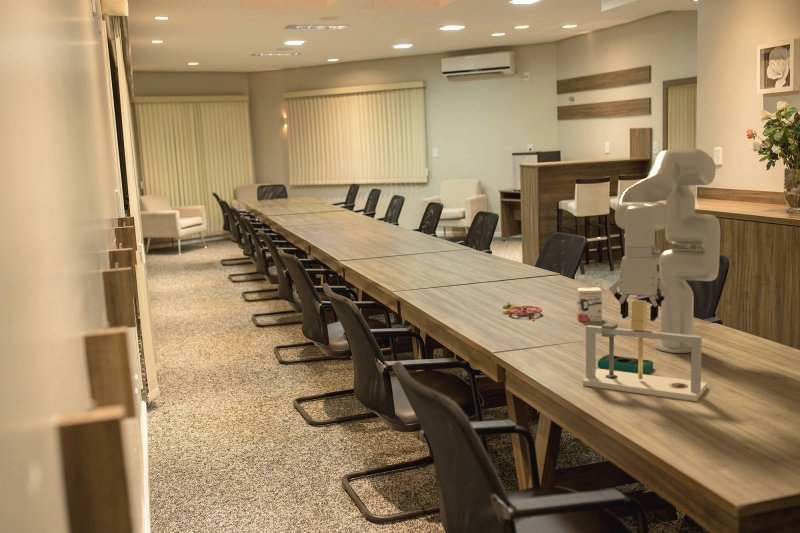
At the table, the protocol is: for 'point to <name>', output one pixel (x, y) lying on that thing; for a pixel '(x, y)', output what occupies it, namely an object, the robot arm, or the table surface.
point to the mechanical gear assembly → (522, 310)
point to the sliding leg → (639, 328)
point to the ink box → (589, 304)
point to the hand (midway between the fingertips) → (639, 318)
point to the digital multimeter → (625, 364)
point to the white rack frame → (648, 383)
